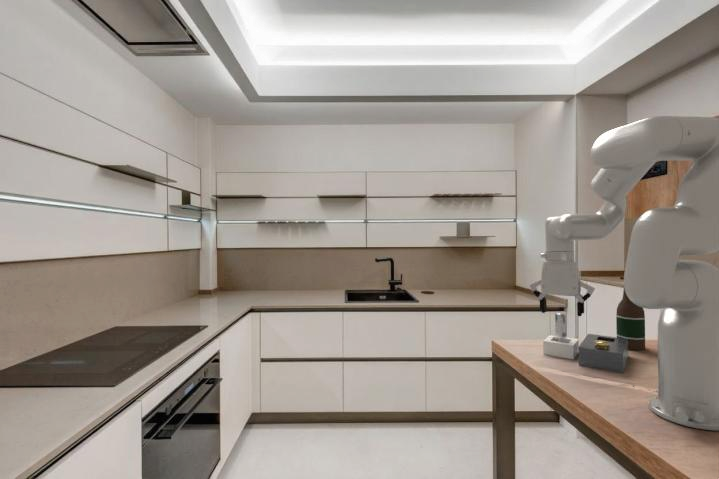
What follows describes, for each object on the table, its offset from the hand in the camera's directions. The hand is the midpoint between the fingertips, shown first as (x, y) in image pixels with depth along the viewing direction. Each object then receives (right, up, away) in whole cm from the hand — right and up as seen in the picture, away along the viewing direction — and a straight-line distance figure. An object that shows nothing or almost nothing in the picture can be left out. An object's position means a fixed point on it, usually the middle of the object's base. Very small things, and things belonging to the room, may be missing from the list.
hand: (561, 313), depth 111 cm
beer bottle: (+25, -13, +5) cm, 28 cm away
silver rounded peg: (0, -12, +1) cm, 12 cm away
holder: (0, -13, +1) cm, 13 cm away
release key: (+6, -12, -10) cm, 17 cm away
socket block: (+9, -13, -6) cm, 17 cm away
